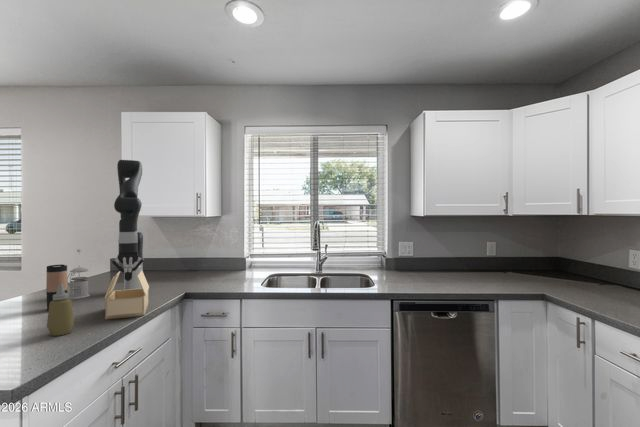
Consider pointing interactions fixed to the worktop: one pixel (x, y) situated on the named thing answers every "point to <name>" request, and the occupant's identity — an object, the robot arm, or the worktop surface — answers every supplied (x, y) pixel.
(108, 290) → the flap
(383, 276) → the worktop surface
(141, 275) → the flap
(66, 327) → the squeeze bottle
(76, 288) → the french press
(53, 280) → the travel mug
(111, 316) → the carton
